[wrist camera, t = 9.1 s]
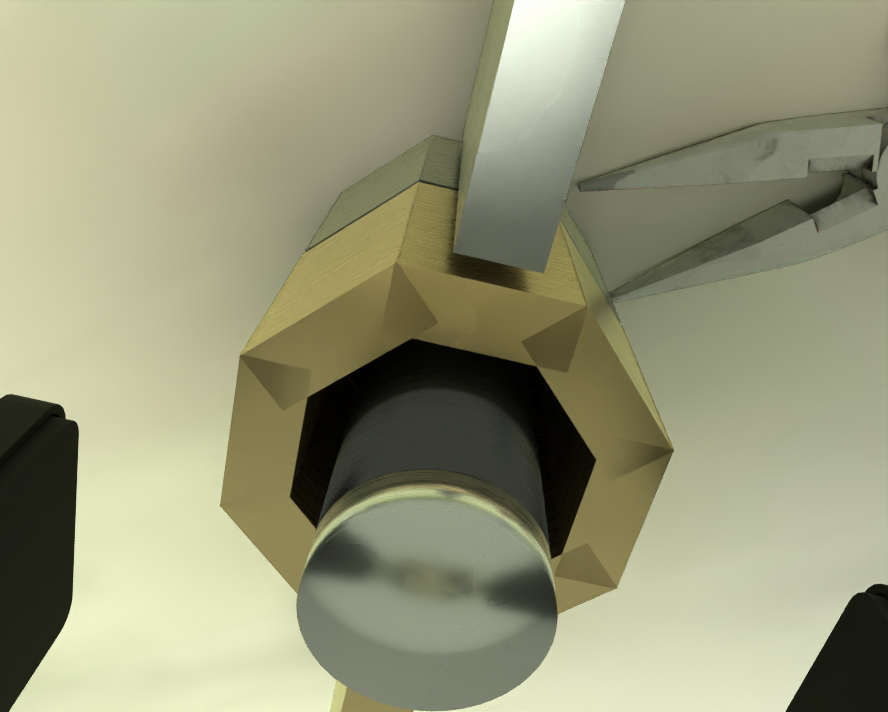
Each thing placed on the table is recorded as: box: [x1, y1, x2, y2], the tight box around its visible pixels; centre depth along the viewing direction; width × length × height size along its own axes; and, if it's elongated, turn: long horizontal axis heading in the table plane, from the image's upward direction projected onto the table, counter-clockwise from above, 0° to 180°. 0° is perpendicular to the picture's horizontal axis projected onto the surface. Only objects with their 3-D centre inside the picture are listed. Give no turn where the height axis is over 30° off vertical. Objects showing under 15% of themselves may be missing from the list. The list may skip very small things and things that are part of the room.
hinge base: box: [305, 0, 625, 414], centre depth 14 cm, size 6×16×9 cm, turn 167°
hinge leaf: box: [220, 182, 674, 712], centre depth 18 cm, size 6×16×9 cm, turn 167°
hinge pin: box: [297, 338, 558, 711], centre depth 15 cm, size 3×3×12 cm
